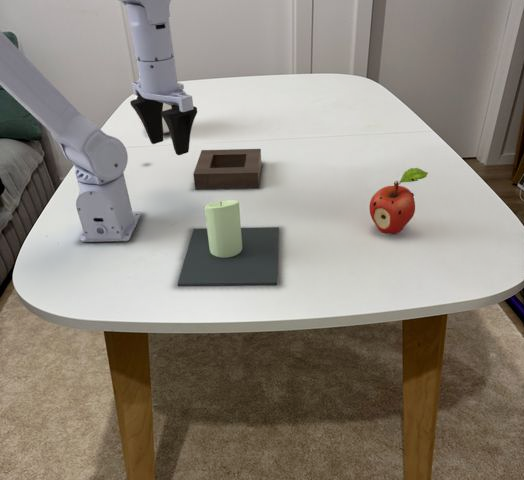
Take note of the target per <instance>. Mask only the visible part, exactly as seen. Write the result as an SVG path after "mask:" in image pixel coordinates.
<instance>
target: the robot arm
mask: <svg viewBox="0 0 524 480" xmlns="http://www.w3.org/2000/svg"><path fill="white" fill-rule="evenodd" d="M118 1H120V2H121V3H122V4H123V5H125V6H126V10H127V15H128V22H129V27H130V33H131V38H132V43H133V49H134V54H135V59H136V66H137V70H138V71H137V72H138V75H139V79H140V80H139V79H138V80H139V81H138V80H135V81H131V82H130V83H131V88H132V89H131V90H132V94H133V96H134V95H136V96H138V97H137V99H135V100H134V99H132V100H130V103H129V104H130V106H131V108H132V109H133V110H134V111H135V114H136V113H137V114H138V116H139V117H140V119H141V121H142V123H143V125H144V127H145V128H144V127H143V128H144V130H145V132H146V134H147V135H146V136H147V137H148V139H149V141H150V143H151V144H152V145H156V144H158V143H162V142H164V134H163V124H162V117H163V118H164V120H165V122H166V124H167V126H168V129H169V131H170V132H169V135H170V138H171V142H172V146H173V150H174V153H175V155H177V156H182V155H184V154H188V153H189V152H190V143H191V135H192V129H193V124H194V121H195V119H196V116H197V114H198V107H197V106H195V105H194V100H193V96H192V95H191V94H188V92H186V91H185V90H184V89H185V84H184V83H181V82H179V81H178V75H177V69H176V61H175V54H174V47H173V40H172V39H173V38H172V32H171V25H170V17H171V14H170V12H171V11H170V3H171V1H172V0H118ZM46 77H47V76H45V75H44V74H43V73H42V72H41V71H40V70H39V69H38V68H37V67H36V65H34V63H32V62H31V61H30V60H29V59H28V57H26V55H25V54H23V52H22V51H20V49H19V48H18V47H17V46H16V45H15V44H14V42H12V40H10V39H9V38H8V37H7V35H5V34H4V32H2V31H1V30H0V86H1V87H2V88H3V89H4V90H5V91H6V92H7V93H8V94H9V95H10V96H11V97H12V98H14V99H15V101H17V102H18V103H19V104H20V105H21V106H22V108H24V109H25V110H27V112H29V113H30V114H31V115H32V116H33V118H35V120H37V121H38V122H39V123H40V124H41V125H42V126H44V128H45V129H46V130H48V132H50V135H51V138H52V139H53V140H55V142H56V143H57V144H58V145H59V147H60V149H61V151H62V153H63V155H64V157H65V158H66V160H67V161H68V162H69V163H70V164H72V165H74V171H75V173H74V174H75V177H76V181H77V184H78V190H79V191H78V195H77V197H76V201H75V208H76V212H77V215H78V217H79V221H80V224H81V225H80V226H81V228H82V232H83V233H82V235H81V236H80V238H79V240H80V242H82V243H85V242H86V243H89V242H91V243H93V242H94V243H95V242H96V243H98V242H128V241H130V239H131V237H132V235H133V233H134V231H135V229H136V226H137V225H138V222H139V220H140V218H141V216H142V213H141V212H140V211H133V208H132V204H131V199H130V196H129V191H128V185H127V182H126V177H125V173H124V172H125V171H126V168H127V165H128V159H129V156H128V151H127V148H126V146H125V145H124V143H123V141H121V140H120V139H119V138H117V137H115V136H113V135H109V134H106V133H105V132H104V131H103V130H102V129H101V128H100V127H99V126H98V125H96V124H95V123H94V122H93V121H91V120H90V119H88V118H87V117H86V116H84V115H83V114H82V112H80V111H79V110H77V108H76V107H75V106H74V105H73V104H72V103H71V102H70V101H69V100H68V99H67V98H66V97H65V96H64V95H63V94H62V93H61V91H59V90H58V89H57V87H56V86H55V85H54V84H52V82H51V81H50V80H49V79H48V78H46ZM163 103H165V104H168V105H170V106H171V107H172V109H168V110H165V111H162V110H163Z"/></svg>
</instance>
